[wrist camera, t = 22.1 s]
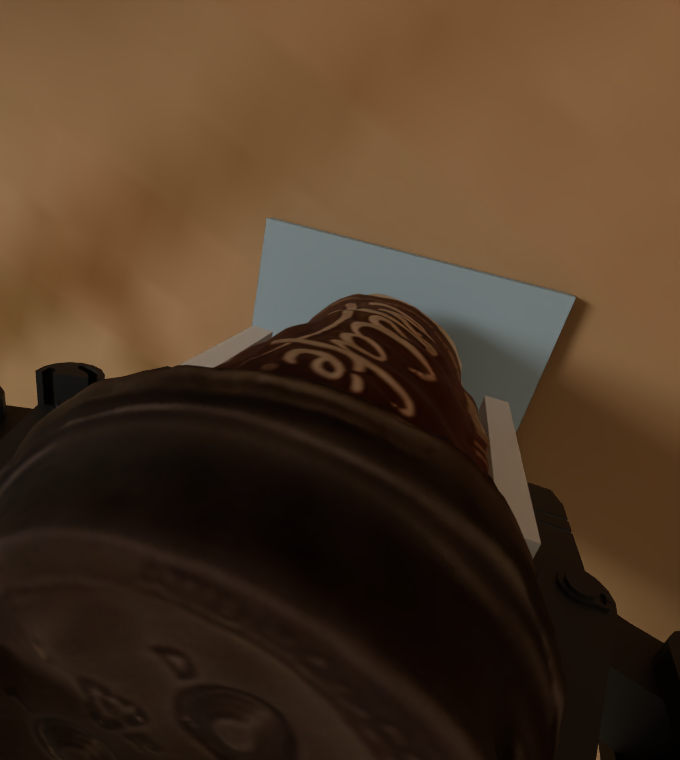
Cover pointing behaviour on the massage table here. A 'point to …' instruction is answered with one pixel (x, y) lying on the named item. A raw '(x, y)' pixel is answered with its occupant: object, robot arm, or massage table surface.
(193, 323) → the massage table surface
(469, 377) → the mat
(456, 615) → the coffee cup
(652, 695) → the robot arm
